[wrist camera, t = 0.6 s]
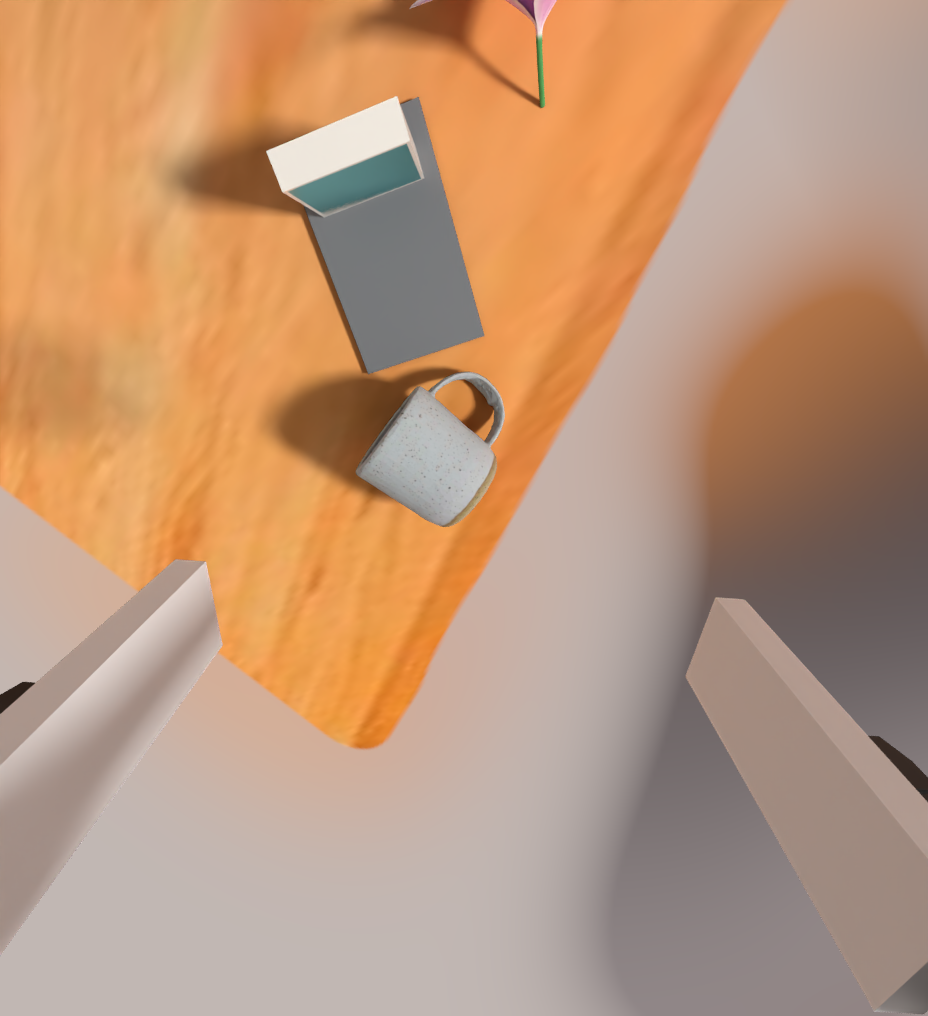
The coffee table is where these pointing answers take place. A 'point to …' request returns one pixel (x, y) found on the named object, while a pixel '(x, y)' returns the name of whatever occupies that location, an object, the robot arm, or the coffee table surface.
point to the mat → (401, 266)
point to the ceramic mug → (434, 455)
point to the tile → (349, 160)
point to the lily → (536, 7)
